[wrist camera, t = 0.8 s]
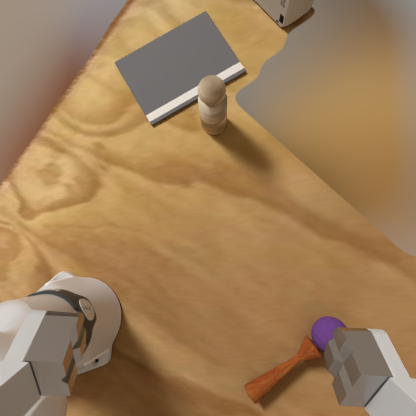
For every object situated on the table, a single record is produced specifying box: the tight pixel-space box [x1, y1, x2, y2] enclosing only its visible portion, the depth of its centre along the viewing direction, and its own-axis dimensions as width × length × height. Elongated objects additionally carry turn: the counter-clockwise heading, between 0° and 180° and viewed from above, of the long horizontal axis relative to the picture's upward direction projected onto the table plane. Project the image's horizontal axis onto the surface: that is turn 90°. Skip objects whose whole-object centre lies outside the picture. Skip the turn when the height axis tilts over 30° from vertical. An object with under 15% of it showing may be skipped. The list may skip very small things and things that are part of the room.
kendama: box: [245, 316, 346, 404], centre depth 57 cm, size 6×6×20 cm
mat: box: [115, 11, 246, 126], centre depth 69 cm, size 22×16×1 cm
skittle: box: [198, 75, 227, 135], centre depth 59 cm, size 5×5×15 cm
